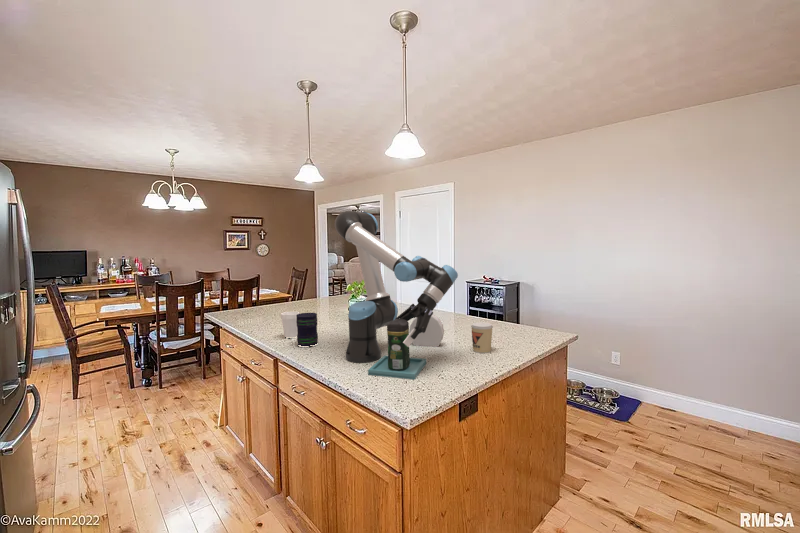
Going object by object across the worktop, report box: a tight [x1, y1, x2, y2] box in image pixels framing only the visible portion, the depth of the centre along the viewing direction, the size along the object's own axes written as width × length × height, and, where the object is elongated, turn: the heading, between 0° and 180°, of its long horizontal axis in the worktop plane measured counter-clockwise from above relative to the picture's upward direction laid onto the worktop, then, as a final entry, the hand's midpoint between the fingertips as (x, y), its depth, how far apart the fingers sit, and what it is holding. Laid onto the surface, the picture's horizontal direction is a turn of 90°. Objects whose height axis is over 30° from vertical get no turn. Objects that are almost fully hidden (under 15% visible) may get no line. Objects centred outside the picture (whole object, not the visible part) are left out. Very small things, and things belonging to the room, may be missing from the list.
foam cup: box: [280, 310, 301, 338], centre depth 194 cm, size 10×9×13 cm
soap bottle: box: [409, 313, 445, 348], centre depth 176 cm, size 16×5×20 cm, turn 75°
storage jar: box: [296, 312, 319, 346], centre depth 180 cm, size 10×10×15 cm
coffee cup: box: [470, 321, 494, 354], centre depth 166 cm, size 9×9×12 cm
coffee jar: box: [386, 319, 411, 370], centre depth 144 cm, size 10×8×19 cm
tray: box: [367, 355, 427, 380], centre depth 145 cm, size 18×18×2 cm
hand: (397, 340), depth 143 cm, fingers open, 13 cm apart
